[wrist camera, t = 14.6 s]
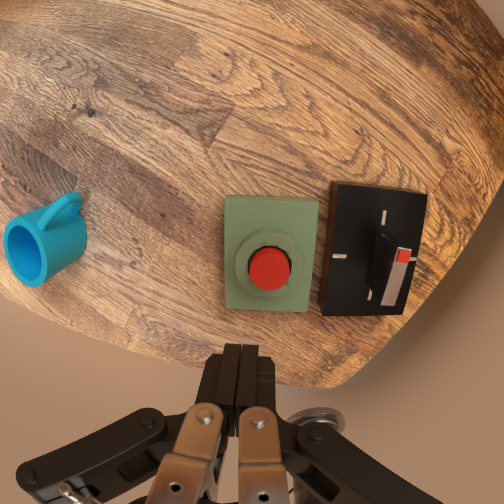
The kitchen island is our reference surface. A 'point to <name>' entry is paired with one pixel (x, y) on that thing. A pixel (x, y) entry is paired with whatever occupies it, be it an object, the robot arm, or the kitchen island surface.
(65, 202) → the mug
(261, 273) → the button
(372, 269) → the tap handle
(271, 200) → the block
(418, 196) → the base
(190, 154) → the kitchen island surface
